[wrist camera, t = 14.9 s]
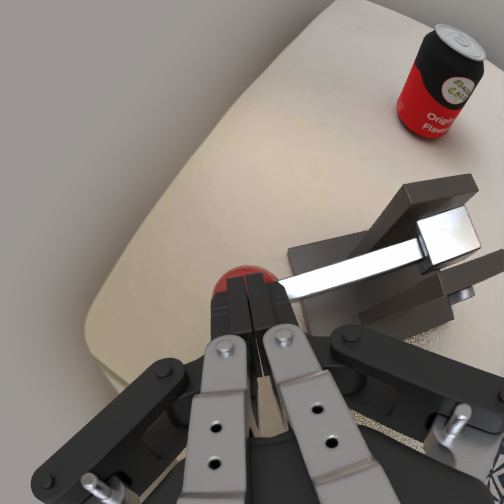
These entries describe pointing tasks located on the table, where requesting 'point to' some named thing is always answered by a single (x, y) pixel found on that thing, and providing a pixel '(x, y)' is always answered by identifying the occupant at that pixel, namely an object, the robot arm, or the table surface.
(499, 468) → the planter
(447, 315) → the grey lever stand
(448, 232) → the tap lever
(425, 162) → the table surface
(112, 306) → the table surface
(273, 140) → the table surface
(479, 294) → the table surface
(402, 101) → the beverage can
